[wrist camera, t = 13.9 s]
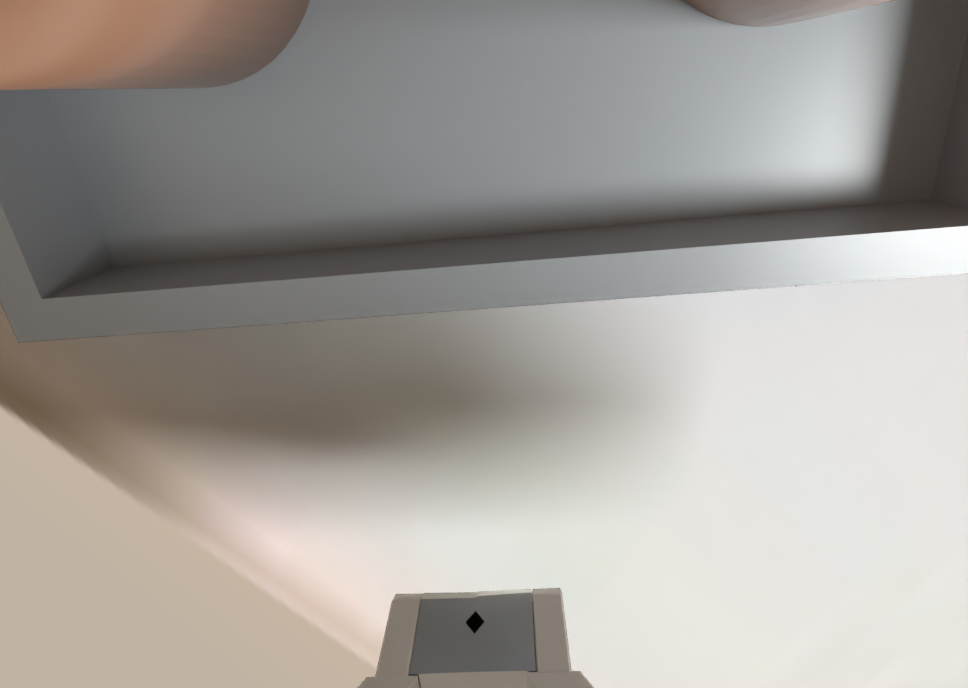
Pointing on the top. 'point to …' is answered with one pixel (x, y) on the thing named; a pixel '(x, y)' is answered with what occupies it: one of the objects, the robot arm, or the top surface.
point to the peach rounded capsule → (140, 42)
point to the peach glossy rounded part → (776, 10)
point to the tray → (492, 167)
